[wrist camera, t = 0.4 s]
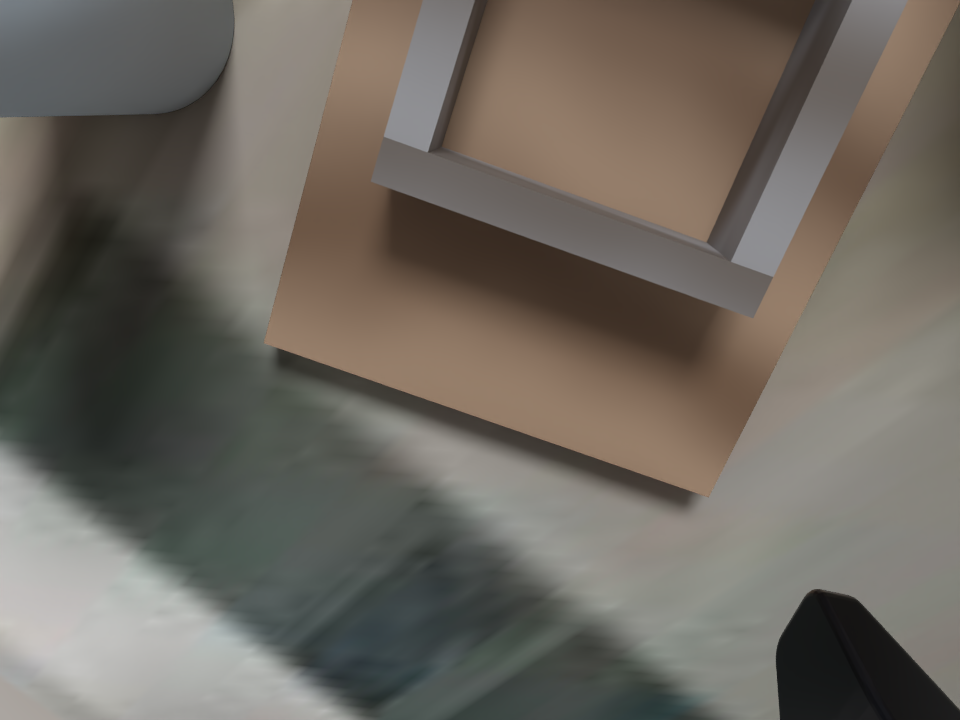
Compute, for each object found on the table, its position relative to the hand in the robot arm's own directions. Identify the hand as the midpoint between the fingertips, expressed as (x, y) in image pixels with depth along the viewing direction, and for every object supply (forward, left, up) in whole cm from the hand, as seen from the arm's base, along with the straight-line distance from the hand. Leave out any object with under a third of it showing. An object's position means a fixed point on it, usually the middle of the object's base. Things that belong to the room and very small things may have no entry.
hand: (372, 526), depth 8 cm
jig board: (+6, -2, -14) cm, 15 cm away
